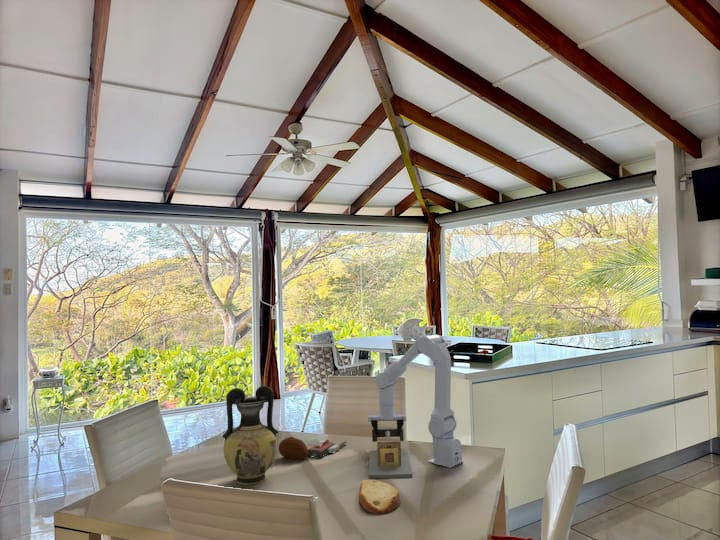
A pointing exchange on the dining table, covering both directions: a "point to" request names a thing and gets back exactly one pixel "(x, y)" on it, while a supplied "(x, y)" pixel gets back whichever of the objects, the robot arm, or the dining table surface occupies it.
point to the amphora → (250, 436)
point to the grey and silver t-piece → (387, 434)
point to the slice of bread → (378, 497)
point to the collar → (389, 450)
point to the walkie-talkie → (323, 448)
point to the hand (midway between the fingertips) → (387, 440)
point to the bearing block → (388, 442)
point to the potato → (293, 448)
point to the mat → (389, 472)
